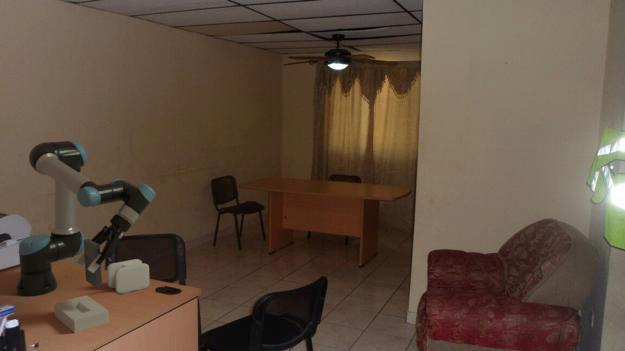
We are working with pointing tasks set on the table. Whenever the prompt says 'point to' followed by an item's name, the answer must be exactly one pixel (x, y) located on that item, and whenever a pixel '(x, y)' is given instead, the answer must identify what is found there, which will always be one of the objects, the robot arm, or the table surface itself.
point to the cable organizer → (128, 276)
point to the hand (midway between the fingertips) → (84, 267)
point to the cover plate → (90, 254)
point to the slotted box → (81, 313)
